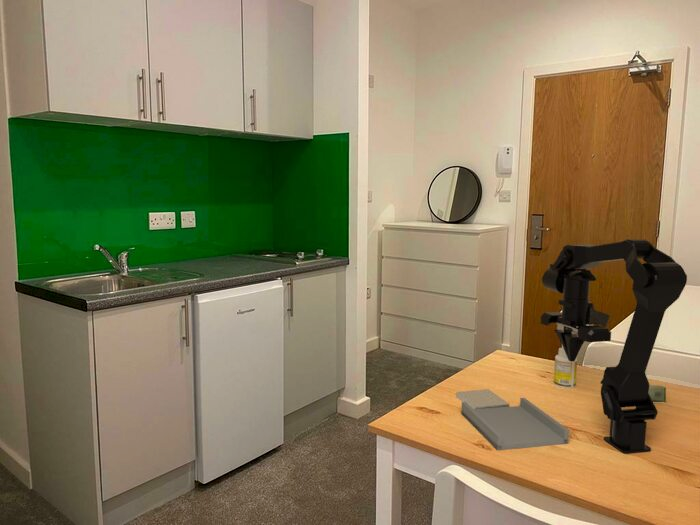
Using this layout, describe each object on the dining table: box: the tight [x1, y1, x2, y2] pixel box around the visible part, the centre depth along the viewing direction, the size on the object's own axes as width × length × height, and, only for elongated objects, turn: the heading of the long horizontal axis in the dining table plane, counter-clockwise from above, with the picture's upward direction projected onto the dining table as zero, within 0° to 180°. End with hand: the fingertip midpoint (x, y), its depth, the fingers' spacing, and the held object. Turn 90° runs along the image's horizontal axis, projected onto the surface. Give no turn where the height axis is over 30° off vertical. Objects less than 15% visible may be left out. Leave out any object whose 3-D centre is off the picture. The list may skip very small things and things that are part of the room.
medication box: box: [648, 384, 667, 403], centre depth 135 cm, size 12×3×4 cm, turn 92°
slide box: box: [460, 397, 570, 451], centre depth 119 cm, size 18×16×3 cm
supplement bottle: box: [553, 347, 578, 389], centre depth 145 cm, size 6×6×10 cm
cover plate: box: [455, 388, 510, 409], centre depth 133 cm, size 10×9×2 cm
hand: (571, 361), depth 129 cm, fingers closed
